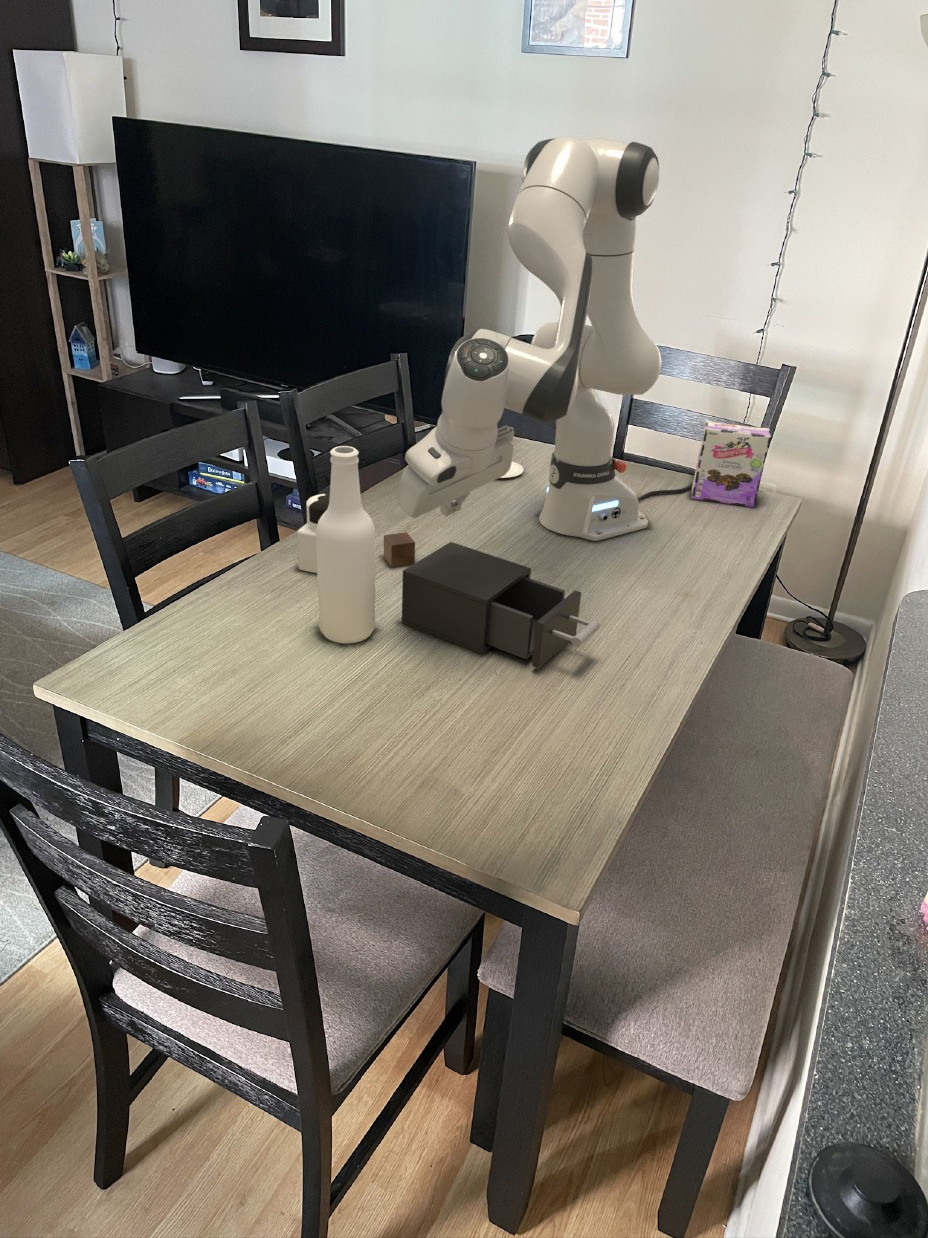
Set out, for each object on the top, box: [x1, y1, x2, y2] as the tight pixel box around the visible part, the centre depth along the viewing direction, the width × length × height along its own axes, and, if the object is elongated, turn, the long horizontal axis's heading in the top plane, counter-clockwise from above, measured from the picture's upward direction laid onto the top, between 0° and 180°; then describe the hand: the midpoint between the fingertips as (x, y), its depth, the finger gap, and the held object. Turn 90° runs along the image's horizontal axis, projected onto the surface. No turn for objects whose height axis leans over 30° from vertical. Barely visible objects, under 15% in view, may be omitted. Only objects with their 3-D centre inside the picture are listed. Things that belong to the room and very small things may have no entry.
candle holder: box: [499, 461, 524, 479], centre depth 205 cm, size 12×12×4 cm
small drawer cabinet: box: [401, 541, 532, 655], centre depth 144 cm, size 16×14×10 cm
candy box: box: [691, 420, 772, 508], centre depth 195 cm, size 14×6×16 cm, turn 76°
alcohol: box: [316, 445, 376, 644], centre depth 134 cm, size 9×9×30 cm
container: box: [296, 493, 330, 574], centre depth 158 cm, size 8×8×13 cm
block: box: [383, 531, 416, 568], centre depth 163 cm, size 4×4×4 cm
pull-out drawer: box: [486, 577, 601, 669], centre depth 138 cm, size 20×12×8 cm, turn 57°
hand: (450, 510), depth 141 cm, fingers closed
